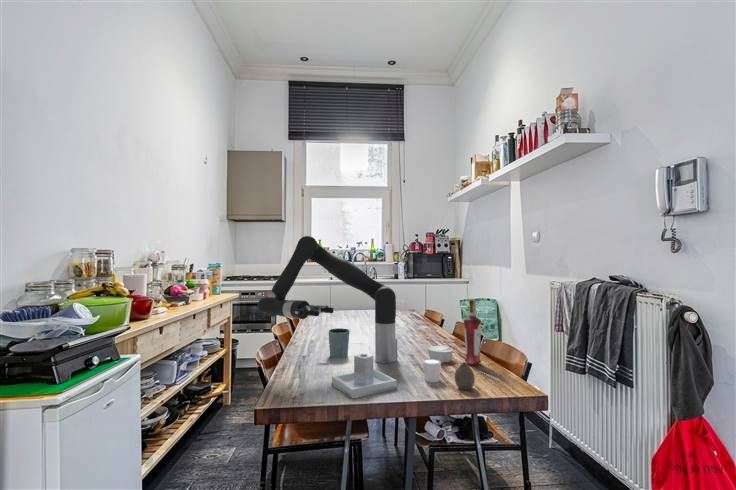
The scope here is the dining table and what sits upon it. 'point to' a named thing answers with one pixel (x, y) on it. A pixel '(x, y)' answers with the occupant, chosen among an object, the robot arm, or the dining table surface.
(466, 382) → the grey egg-shaped piece
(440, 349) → the ramekin
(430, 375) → the white cylinder
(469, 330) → the liquor
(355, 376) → the steel block
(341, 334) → the green cup
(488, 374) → the butter knife
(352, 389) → the tray
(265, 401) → the dining table surface
